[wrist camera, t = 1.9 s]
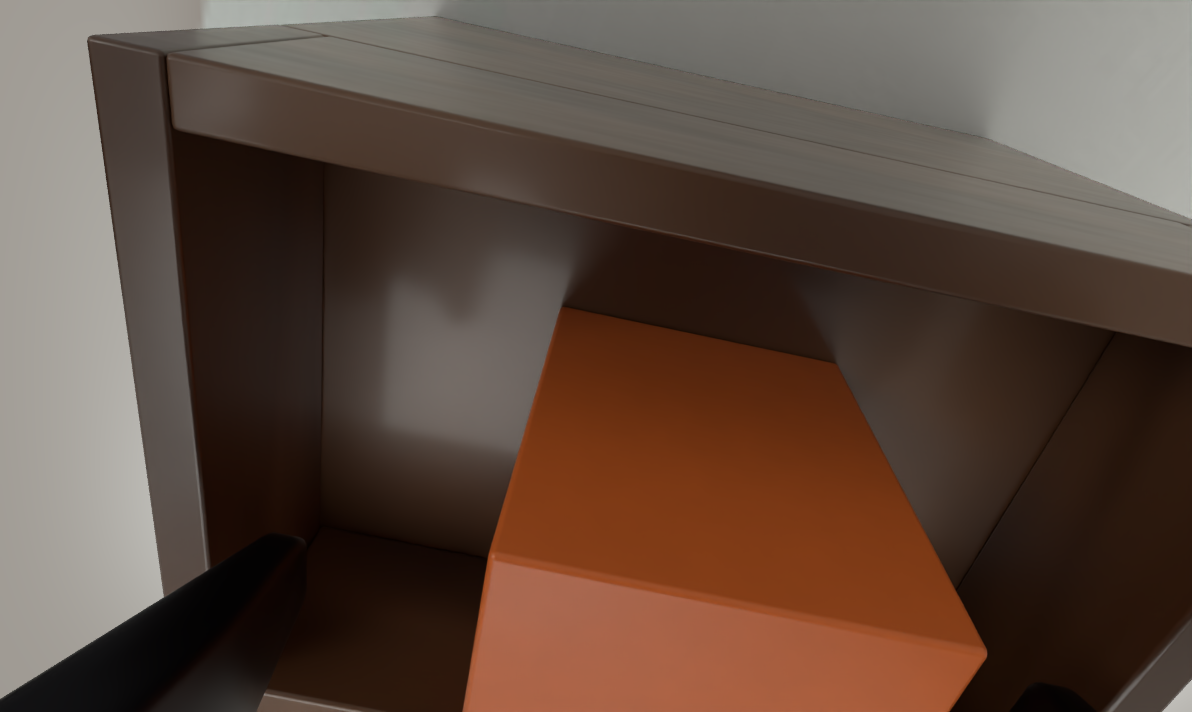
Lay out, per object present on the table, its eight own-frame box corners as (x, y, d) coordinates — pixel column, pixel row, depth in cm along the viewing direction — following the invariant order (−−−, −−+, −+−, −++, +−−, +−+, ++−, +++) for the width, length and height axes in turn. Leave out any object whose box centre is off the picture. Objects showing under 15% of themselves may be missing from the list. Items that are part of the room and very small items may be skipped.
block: (519, 521, 13) (440, 839, 8) (560, 304, 11) (487, 554, 6) (753, 567, 13) (816, 909, 8) (838, 362, 11) (993, 654, 6)
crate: (405, 365, 20) (176, 705, 10) (432, 15, 16) (82, 33, 6) (846, 455, 21) (1025, 865, 11) (989, 138, 16) (1508, 343, 6)
